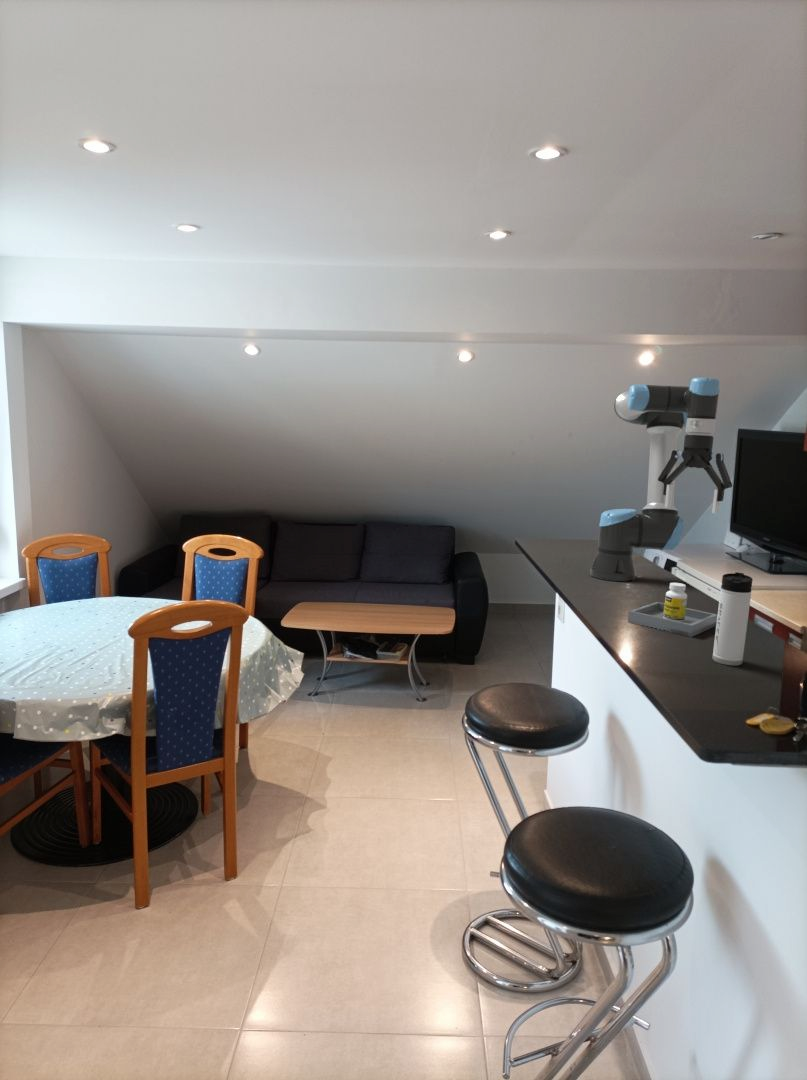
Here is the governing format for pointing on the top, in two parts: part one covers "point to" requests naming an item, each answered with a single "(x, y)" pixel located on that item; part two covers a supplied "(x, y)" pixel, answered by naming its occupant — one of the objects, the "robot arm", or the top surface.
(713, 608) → the top surface
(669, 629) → the tray
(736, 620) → the travel mug
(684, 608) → the supplement bottle
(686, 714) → the top surface
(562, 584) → the top surface
